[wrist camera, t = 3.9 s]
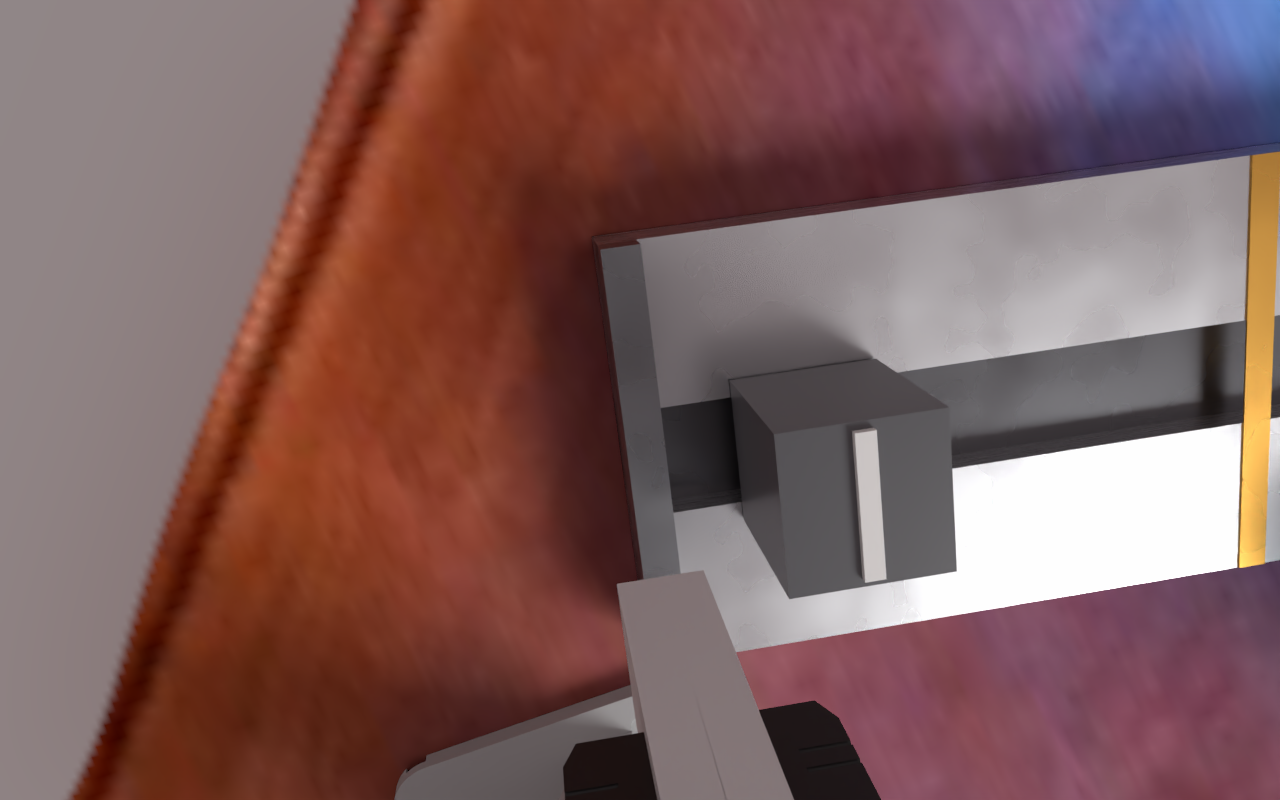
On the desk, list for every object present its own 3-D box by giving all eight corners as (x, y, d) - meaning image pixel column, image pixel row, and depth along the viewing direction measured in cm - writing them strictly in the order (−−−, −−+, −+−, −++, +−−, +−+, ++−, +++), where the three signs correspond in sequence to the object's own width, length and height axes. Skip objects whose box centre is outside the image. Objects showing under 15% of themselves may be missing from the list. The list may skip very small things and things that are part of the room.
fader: (737, 509, 30) (791, 603, 24) (723, 373, 29) (775, 436, 23) (874, 487, 30) (960, 574, 25) (866, 351, 29) (952, 409, 23)
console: (644, 633, 32) (657, 684, 29) (591, 236, 29) (600, 249, 26) (1386, 509, 34) (1466, 546, 31) (1413, 124, 31) (1506, 125, 28)
